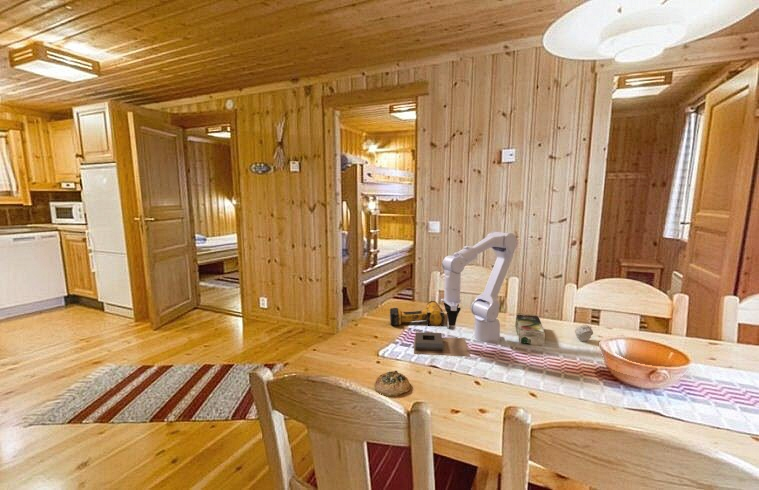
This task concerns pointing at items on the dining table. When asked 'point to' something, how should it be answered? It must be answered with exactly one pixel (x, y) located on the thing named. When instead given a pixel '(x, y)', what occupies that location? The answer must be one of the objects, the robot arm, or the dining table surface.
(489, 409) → the dining table surface
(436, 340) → the socket block
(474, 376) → the dining table surface
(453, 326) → the metal peg
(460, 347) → the walnut board
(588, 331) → the grey rock
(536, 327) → the juice carton
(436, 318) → the power drill
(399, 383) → the bread roll
